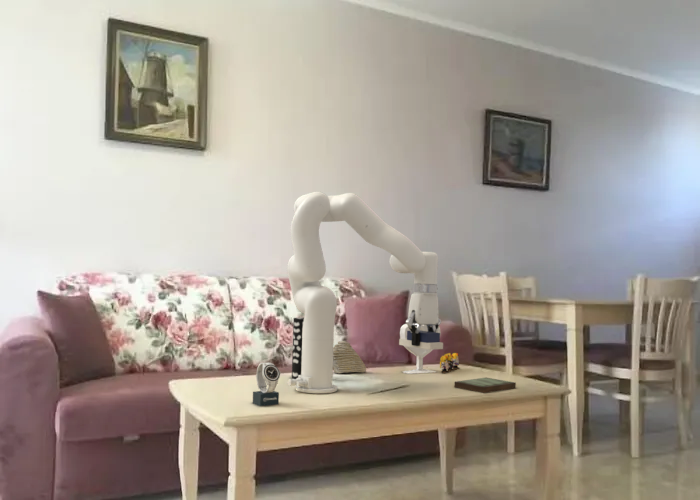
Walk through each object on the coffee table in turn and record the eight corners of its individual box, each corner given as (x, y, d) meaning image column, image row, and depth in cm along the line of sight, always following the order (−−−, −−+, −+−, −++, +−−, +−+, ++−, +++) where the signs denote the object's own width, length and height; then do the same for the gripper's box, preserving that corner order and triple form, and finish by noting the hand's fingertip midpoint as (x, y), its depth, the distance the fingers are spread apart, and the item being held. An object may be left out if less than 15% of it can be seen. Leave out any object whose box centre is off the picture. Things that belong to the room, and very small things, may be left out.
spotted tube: (315, 380, 222) (317, 319, 223) (290, 379, 222) (292, 319, 223) (317, 376, 231) (319, 317, 231) (293, 375, 231) (294, 317, 231)
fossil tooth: (367, 376, 241) (328, 374, 235) (360, 373, 247) (322, 370, 241) (371, 344, 241) (332, 341, 235) (364, 342, 247) (326, 338, 241)
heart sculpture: (404, 373, 242) (406, 323, 243) (397, 371, 246) (398, 322, 247) (441, 371, 249) (442, 322, 250) (433, 369, 253) (434, 321, 254)
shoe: (443, 349, 216) (443, 333, 216) (430, 349, 212) (430, 333, 213) (411, 344, 227) (412, 329, 227) (399, 344, 223) (399, 329, 223)
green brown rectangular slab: (484, 393, 207) (484, 386, 207) (454, 387, 217) (454, 380, 217) (515, 388, 218) (515, 381, 218) (486, 382, 227) (486, 376, 227)
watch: (263, 407, 177) (265, 365, 178) (249, 402, 184) (250, 361, 184) (282, 405, 181) (283, 364, 181) (267, 400, 187) (269, 360, 188)
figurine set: (436, 372, 246) (436, 354, 246) (452, 367, 260) (452, 350, 261) (445, 373, 245) (445, 355, 245) (461, 368, 259) (461, 351, 259)
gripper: (434, 289, 228) (432, 343, 227) (398, 288, 217) (395, 344, 216) (451, 290, 222) (449, 345, 222) (414, 289, 211) (412, 347, 211)
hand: (423, 344), depth 219 cm, fingers closed on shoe, 6 cm apart
